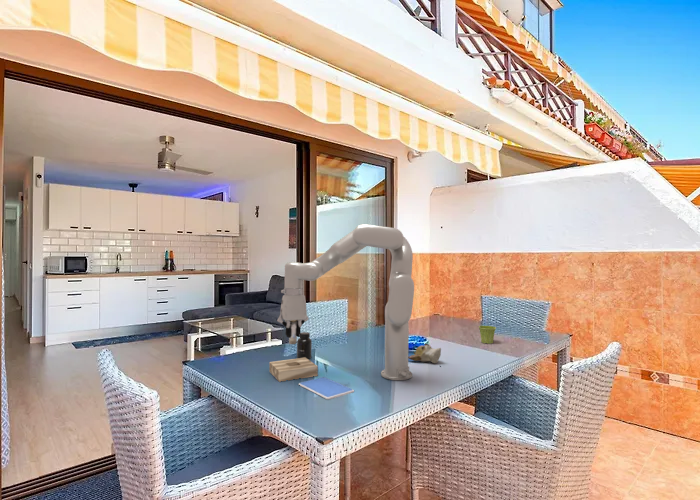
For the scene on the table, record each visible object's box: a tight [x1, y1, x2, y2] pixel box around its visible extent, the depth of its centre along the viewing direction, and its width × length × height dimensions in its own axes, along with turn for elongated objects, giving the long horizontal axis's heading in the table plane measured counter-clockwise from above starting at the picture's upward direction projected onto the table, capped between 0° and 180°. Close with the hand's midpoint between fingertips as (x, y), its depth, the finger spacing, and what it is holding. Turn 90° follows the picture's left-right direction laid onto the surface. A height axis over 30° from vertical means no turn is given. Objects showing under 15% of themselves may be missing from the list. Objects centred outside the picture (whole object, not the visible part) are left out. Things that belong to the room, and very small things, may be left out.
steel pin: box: [288, 320, 298, 345], centre depth 159 cm, size 3×3×10 cm
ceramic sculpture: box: [408, 343, 442, 364], centre depth 178 cm, size 11×9×15 cm
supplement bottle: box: [296, 331, 313, 360], centre depth 182 cm, size 7×7×12 cm
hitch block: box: [269, 357, 319, 383], centre depth 159 cm, size 14×16×4 cm
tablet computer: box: [298, 376, 355, 400], centre depth 143 cm, size 19×13×1 cm, turn 39°
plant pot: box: [478, 325, 497, 345], centre depth 216 cm, size 9×9×9 cm
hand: (292, 336), depth 159 cm, fingers closed on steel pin, 3 cm apart
